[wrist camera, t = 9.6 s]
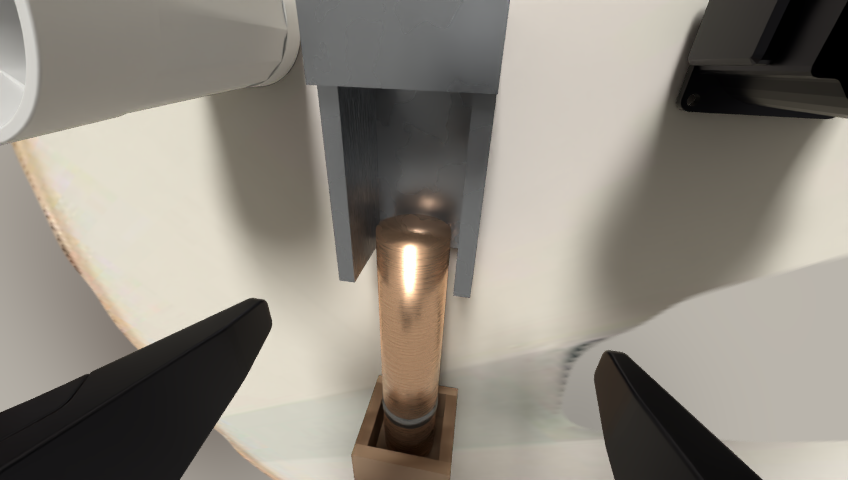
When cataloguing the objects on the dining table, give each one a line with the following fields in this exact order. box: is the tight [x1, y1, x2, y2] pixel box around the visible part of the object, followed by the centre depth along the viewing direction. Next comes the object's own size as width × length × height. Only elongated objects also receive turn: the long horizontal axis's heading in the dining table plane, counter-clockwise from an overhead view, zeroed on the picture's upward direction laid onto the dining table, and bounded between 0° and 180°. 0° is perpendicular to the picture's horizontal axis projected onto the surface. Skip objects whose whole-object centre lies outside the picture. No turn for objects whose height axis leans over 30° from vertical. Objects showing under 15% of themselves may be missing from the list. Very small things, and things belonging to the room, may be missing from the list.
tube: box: [376, 214, 451, 457], centre depth 22 cm, size 19×4×4 cm, turn 178°
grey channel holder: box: [295, 0, 510, 298], centre depth 15 cm, size 12×7×7 cm, turn 178°
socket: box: [351, 375, 458, 480], centre depth 26 cm, size 7×4×7 cm, turn 88°
